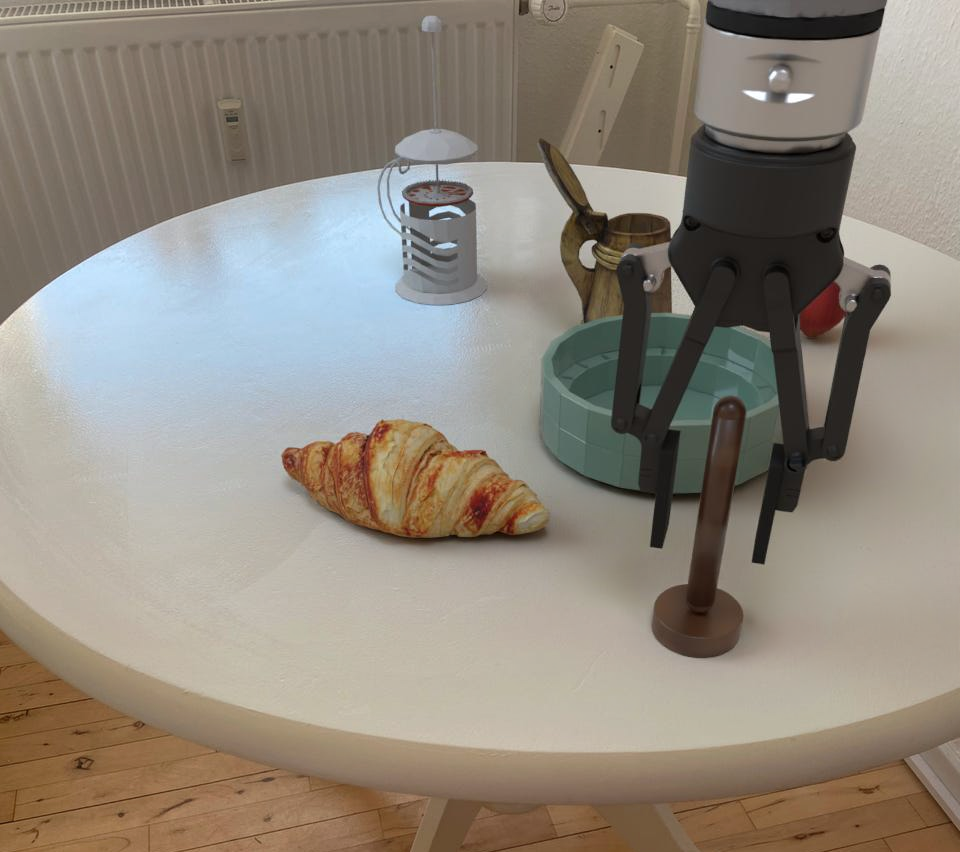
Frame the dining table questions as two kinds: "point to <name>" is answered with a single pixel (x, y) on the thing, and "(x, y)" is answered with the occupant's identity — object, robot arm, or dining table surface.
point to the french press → (436, 216)
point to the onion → (822, 313)
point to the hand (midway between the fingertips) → (709, 542)
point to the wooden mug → (602, 243)
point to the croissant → (414, 484)
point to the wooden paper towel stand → (707, 552)
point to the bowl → (590, 393)
